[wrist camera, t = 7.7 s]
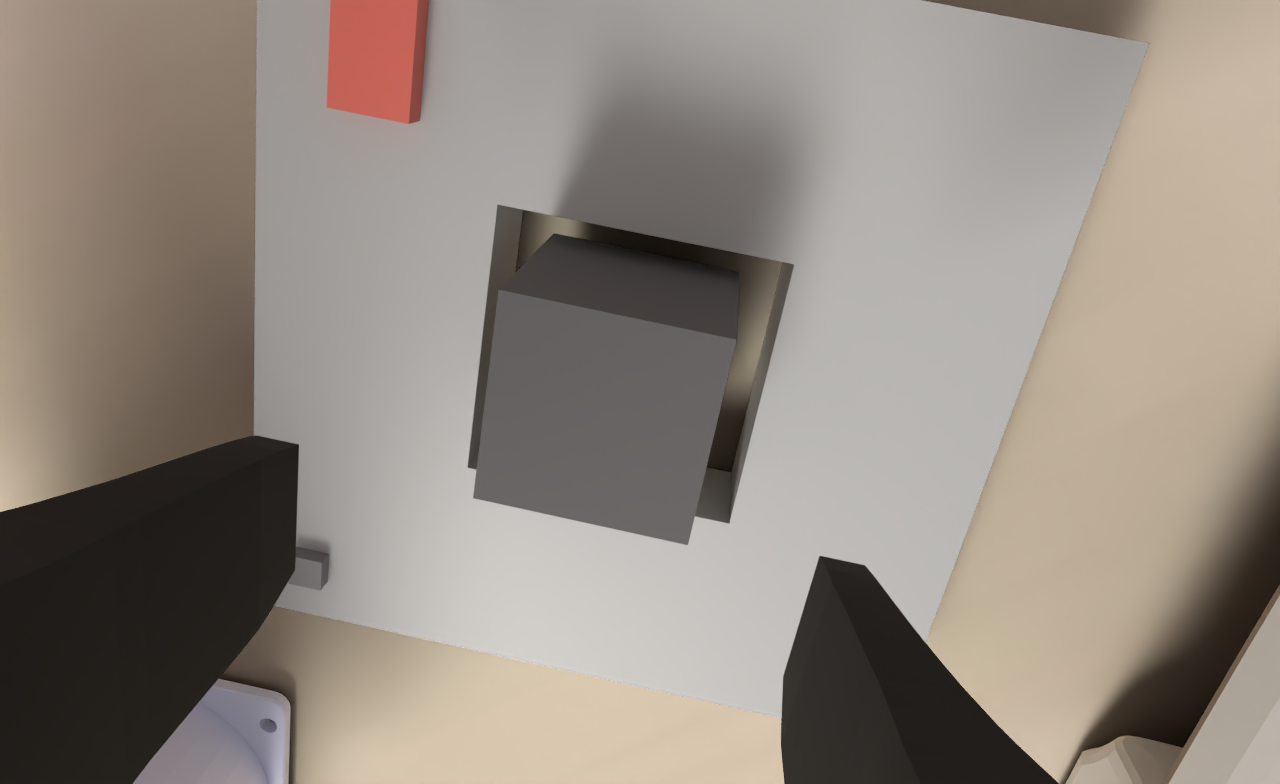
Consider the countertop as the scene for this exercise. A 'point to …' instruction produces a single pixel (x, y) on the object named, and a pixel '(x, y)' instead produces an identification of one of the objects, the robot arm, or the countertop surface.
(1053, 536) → the countertop surface
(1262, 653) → the toaster
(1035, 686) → the countertop surface
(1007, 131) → the socket plate
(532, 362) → the plug
